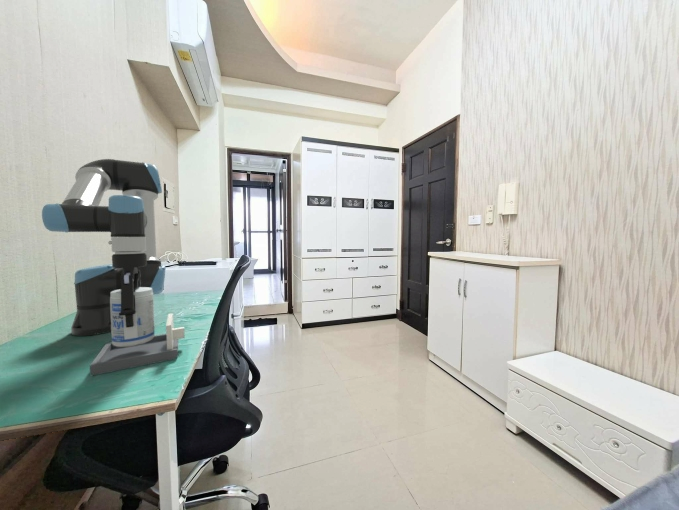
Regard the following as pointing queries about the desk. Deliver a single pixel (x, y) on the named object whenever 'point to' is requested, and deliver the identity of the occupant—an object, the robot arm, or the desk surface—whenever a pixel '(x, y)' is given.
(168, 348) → the pusher
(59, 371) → the desk surface
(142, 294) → the supplement tub
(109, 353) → the gray tray
